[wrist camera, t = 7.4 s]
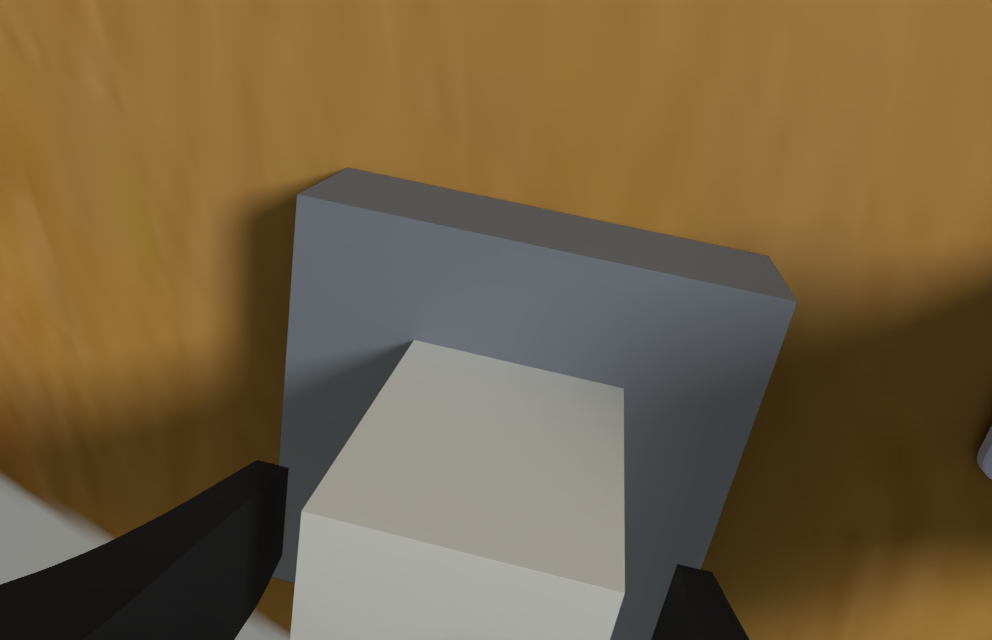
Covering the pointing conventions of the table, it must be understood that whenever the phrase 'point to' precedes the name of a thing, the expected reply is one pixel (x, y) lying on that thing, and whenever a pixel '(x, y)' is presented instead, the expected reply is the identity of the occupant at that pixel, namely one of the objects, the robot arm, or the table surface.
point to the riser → (535, 343)
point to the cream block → (469, 509)
